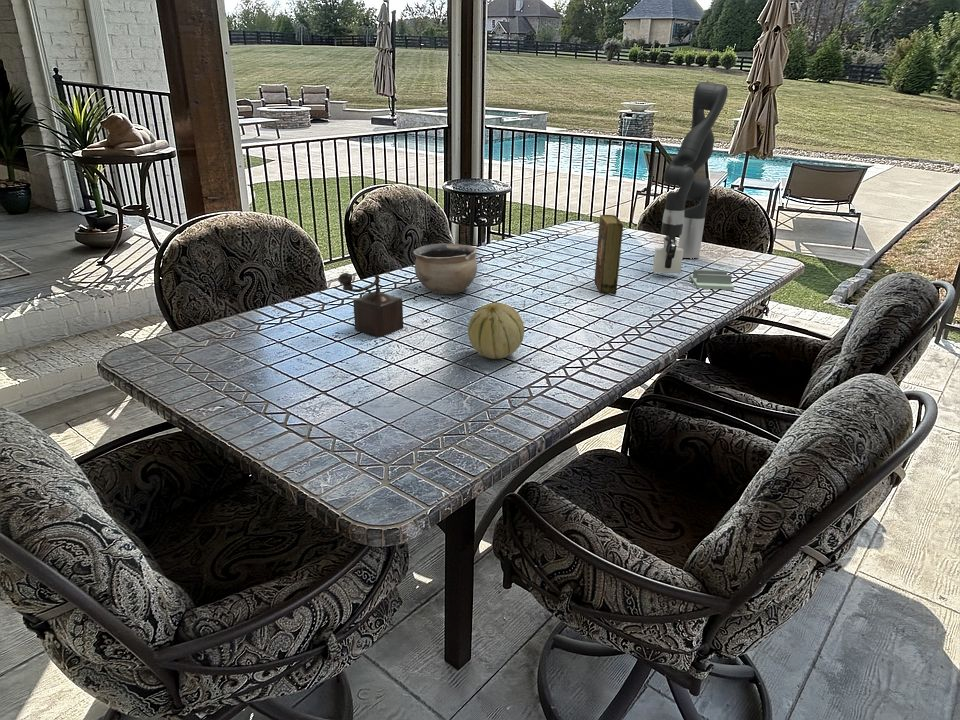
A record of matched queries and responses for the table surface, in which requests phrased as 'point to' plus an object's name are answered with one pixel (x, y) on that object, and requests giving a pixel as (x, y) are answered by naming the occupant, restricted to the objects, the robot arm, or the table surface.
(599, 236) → the book
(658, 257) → the cream rectangular prism
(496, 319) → the cantaloupe
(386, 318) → the manual coffee grinder
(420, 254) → the ceramic bowl
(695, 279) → the dish rack
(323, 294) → the table surface
